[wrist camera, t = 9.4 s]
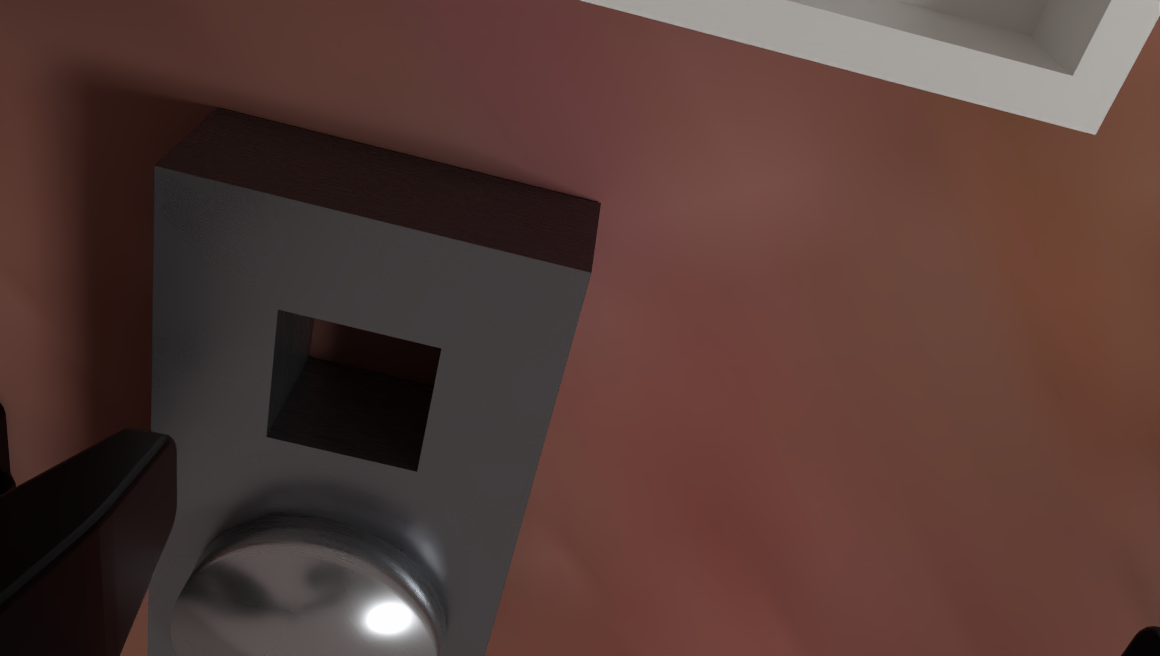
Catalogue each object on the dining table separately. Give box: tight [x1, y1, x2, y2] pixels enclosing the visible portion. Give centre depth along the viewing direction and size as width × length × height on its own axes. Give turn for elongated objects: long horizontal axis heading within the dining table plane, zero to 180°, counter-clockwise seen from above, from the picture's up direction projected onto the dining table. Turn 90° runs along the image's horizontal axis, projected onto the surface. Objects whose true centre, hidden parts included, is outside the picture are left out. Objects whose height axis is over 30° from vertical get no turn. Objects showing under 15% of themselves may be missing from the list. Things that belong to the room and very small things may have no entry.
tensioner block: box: [148, 108, 601, 656], centre depth 23 cm, size 8×14×4 cm, turn 167°
